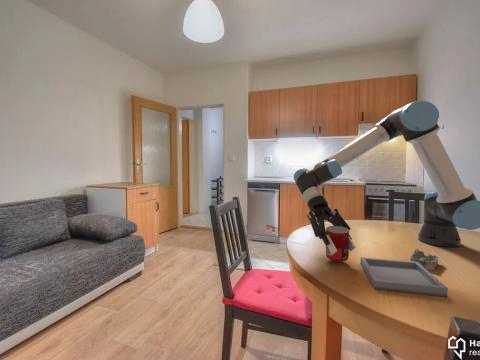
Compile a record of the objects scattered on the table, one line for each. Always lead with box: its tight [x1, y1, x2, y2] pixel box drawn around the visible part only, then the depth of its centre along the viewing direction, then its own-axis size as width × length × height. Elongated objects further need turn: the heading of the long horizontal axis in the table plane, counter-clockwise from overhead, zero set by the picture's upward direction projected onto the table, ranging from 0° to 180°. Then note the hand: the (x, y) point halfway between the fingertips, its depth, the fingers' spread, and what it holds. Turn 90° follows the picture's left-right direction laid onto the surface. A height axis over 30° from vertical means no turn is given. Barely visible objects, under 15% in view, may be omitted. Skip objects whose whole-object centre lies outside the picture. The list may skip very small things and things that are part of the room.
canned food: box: [325, 225, 350, 262], centre depth 90 cm, size 8×8×11 cm
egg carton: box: [409, 248, 441, 271], centre depth 87 cm, size 11×8×4 cm
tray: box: [359, 256, 449, 298], centre depth 77 cm, size 18×18×2 cm
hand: (344, 251), depth 87 cm, fingers closed on canned food, 8 cm apart
